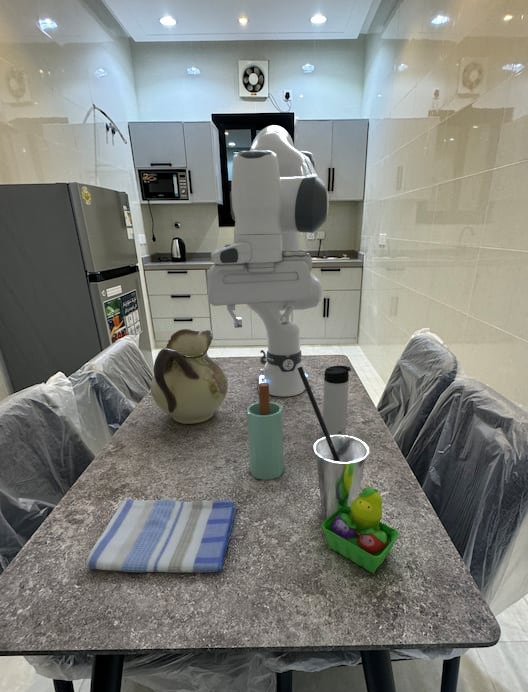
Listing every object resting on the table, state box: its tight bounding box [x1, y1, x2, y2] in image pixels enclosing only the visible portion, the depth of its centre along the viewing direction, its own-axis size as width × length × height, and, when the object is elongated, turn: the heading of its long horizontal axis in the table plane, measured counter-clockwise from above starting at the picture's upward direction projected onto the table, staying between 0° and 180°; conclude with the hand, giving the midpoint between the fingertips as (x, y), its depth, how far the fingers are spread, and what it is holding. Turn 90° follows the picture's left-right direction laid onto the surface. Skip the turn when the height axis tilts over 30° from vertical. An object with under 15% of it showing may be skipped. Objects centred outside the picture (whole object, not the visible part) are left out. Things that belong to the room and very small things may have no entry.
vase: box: [246, 401, 284, 481], centre depth 87 cm, size 8×8×16 cm
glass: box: [297, 367, 370, 521], centre depth 70 cm, size 11×11×30 cm
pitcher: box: [150, 328, 229, 425], centre depth 113 cm, size 22×24×25 cm
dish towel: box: [85, 498, 238, 574], centre depth 70 cm, size 17×24×3 cm
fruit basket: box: [320, 486, 400, 574], centre depth 65 cm, size 11×9×11 cm
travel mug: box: [321, 365, 352, 438], centre depth 101 cm, size 6×7×20 cm
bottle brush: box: [258, 383, 271, 415], centre depth 86 cm, size 4×4×21 cm
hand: (261, 325), depth 77 cm, fingers open, 8 cm apart
